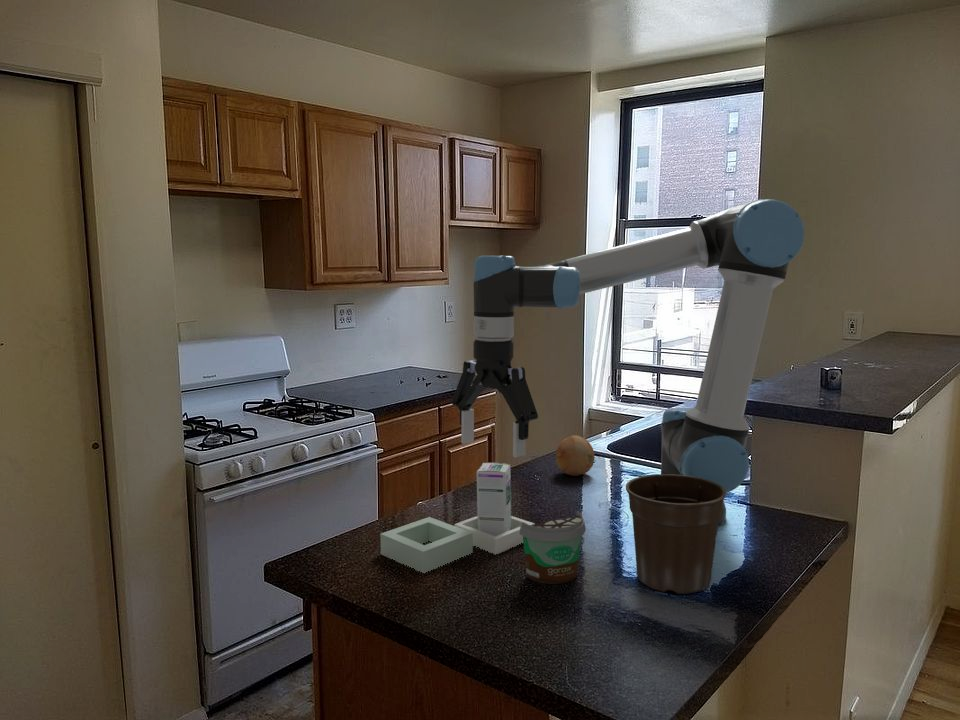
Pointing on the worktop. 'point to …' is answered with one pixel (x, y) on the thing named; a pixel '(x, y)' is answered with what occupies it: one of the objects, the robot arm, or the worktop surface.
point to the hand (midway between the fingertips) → (492, 449)
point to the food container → (553, 549)
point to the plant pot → (675, 530)
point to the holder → (494, 542)
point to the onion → (575, 455)
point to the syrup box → (494, 498)
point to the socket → (424, 558)
